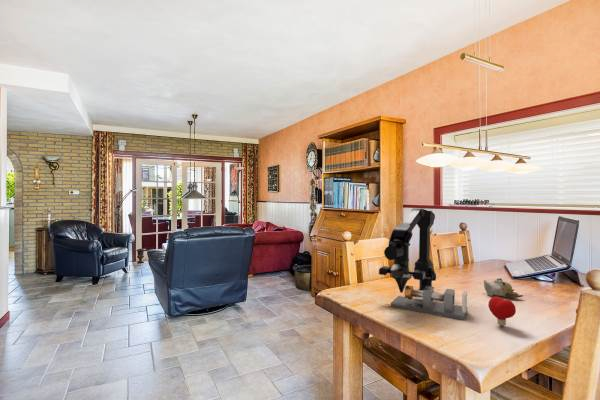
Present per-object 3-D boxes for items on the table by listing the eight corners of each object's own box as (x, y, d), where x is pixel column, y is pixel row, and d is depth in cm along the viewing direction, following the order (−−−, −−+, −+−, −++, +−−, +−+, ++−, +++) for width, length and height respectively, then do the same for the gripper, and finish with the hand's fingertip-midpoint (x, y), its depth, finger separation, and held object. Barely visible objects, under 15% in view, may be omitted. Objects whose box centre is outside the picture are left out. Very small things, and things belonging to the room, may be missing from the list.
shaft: (407, 296, 143) (407, 284, 143) (450, 303, 134) (450, 290, 134) (404, 300, 138) (404, 287, 138) (448, 307, 129) (448, 293, 129)
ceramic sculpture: (480, 274, 159) (514, 277, 156) (479, 291, 160) (512, 295, 156) (488, 279, 149) (525, 283, 146) (486, 298, 149) (523, 302, 146)
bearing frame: (398, 298, 148) (398, 280, 148) (467, 310, 133) (467, 290, 133) (390, 306, 138) (390, 286, 138) (464, 320, 123) (464, 297, 123)
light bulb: (483, 322, 121) (483, 295, 121) (496, 320, 123) (497, 293, 123) (506, 332, 112) (507, 303, 112) (520, 329, 115) (521, 301, 114)
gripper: (374, 257, 140) (374, 293, 140) (419, 262, 130) (419, 301, 130) (382, 253, 149) (382, 287, 149) (425, 257, 139) (425, 294, 139)
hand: (401, 292), depth 142 cm, fingers closed
